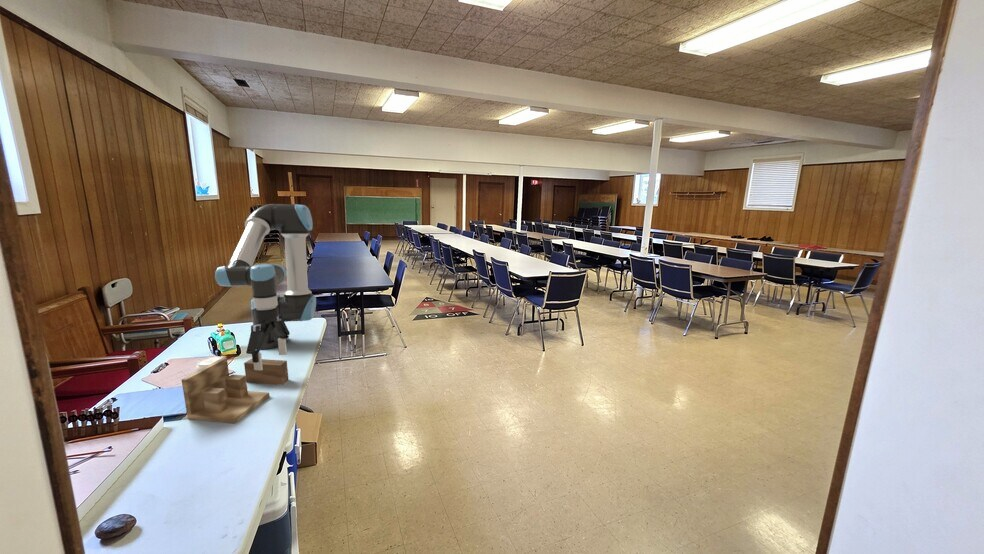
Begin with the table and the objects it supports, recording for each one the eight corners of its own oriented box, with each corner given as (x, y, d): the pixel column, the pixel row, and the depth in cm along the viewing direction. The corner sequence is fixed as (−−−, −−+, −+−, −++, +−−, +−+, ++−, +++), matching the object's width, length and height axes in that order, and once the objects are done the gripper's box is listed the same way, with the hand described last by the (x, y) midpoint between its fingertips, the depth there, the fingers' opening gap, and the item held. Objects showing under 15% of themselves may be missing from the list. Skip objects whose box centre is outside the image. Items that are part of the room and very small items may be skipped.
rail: (253, 377, 146) (251, 358, 144) (288, 379, 145) (286, 360, 143) (246, 382, 142) (244, 363, 140) (282, 385, 141) (280, 365, 139)
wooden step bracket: (227, 392, 135) (222, 357, 132) (269, 396, 133) (265, 361, 130) (187, 418, 119) (181, 379, 116) (234, 423, 118) (229, 383, 115)
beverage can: (213, 398, 130) (209, 366, 128) (194, 395, 132) (189, 364, 129) (233, 387, 138) (230, 357, 136) (215, 384, 140) (211, 354, 137)
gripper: (278, 298, 149) (283, 348, 154) (229, 317, 125) (236, 376, 129) (296, 299, 149) (300, 349, 153) (250, 318, 124) (257, 377, 129)
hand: (271, 361), depth 141 cm, fingers open, 13 cm apart
